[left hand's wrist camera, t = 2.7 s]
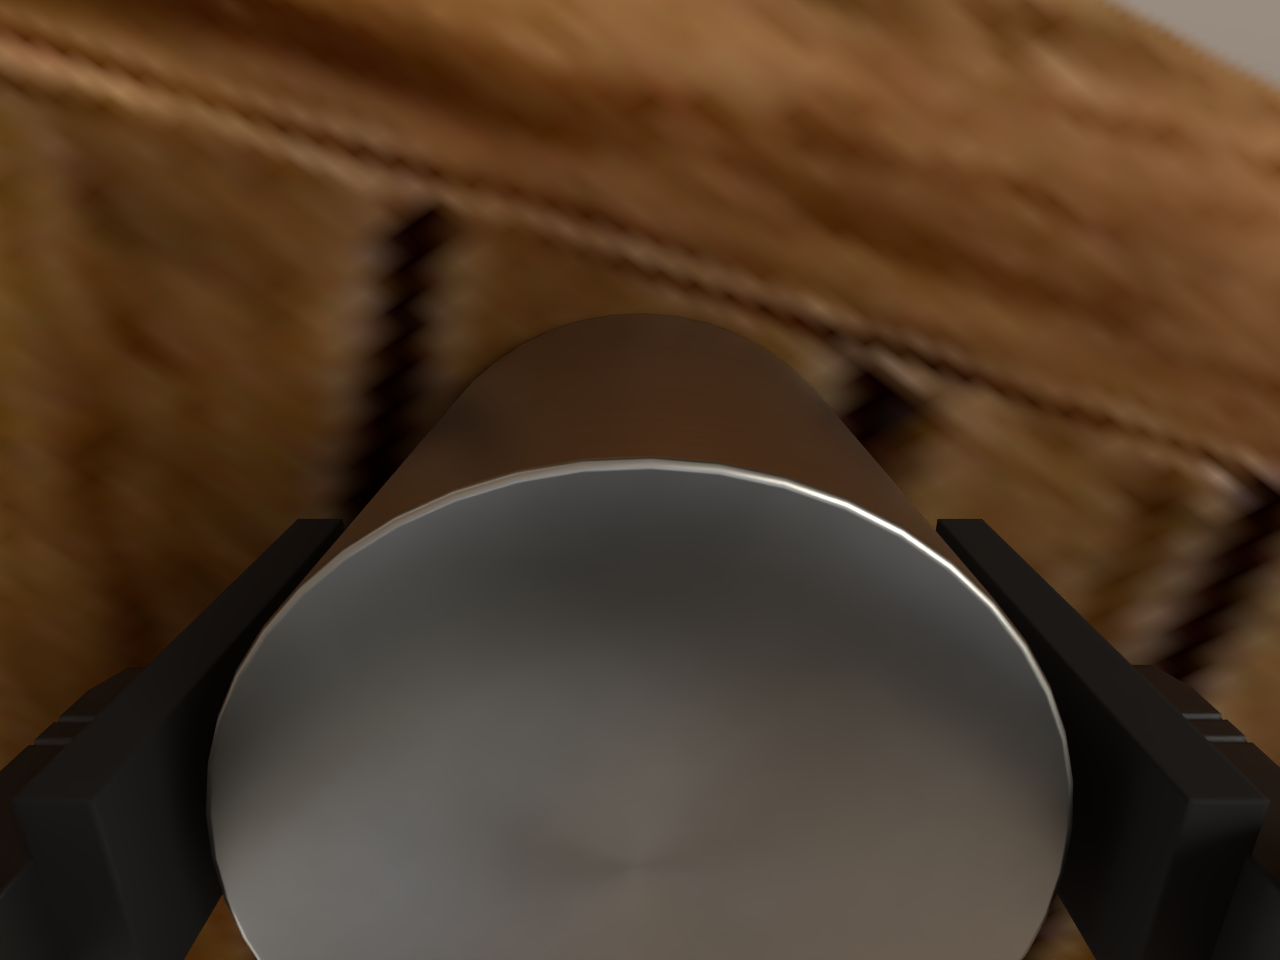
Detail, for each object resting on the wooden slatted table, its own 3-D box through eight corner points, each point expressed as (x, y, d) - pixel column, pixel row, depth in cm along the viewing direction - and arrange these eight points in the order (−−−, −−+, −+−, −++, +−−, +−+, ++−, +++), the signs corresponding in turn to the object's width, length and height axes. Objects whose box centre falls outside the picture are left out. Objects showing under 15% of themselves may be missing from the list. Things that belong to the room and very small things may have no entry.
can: (696, 208, 14) (767, 238, 6) (944, 581, 16) (1217, 934, 9) (320, 493, 16) (11, 791, 8) (597, 787, 18) (566, 1231, 10)
